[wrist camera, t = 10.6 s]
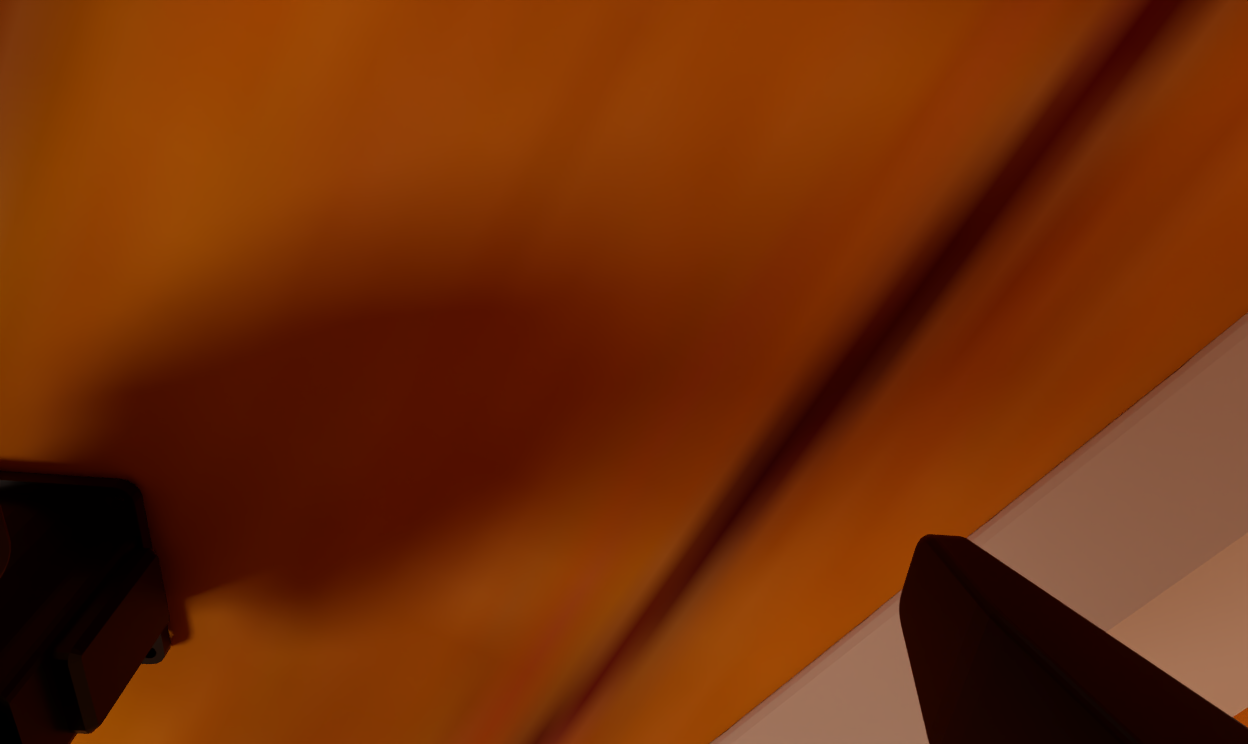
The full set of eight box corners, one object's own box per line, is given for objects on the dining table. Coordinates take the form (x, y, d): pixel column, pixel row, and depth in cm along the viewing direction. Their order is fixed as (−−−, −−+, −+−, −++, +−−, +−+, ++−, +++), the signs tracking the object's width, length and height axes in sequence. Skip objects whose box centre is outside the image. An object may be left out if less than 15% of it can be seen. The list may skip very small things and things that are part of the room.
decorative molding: (1518, 314, 25) (1458, 120, 20) (1717, 412, 21) (1710, 207, 16) (742, 869, 36) (569, 841, 31) (785, 997, 33) (596, 991, 27)
